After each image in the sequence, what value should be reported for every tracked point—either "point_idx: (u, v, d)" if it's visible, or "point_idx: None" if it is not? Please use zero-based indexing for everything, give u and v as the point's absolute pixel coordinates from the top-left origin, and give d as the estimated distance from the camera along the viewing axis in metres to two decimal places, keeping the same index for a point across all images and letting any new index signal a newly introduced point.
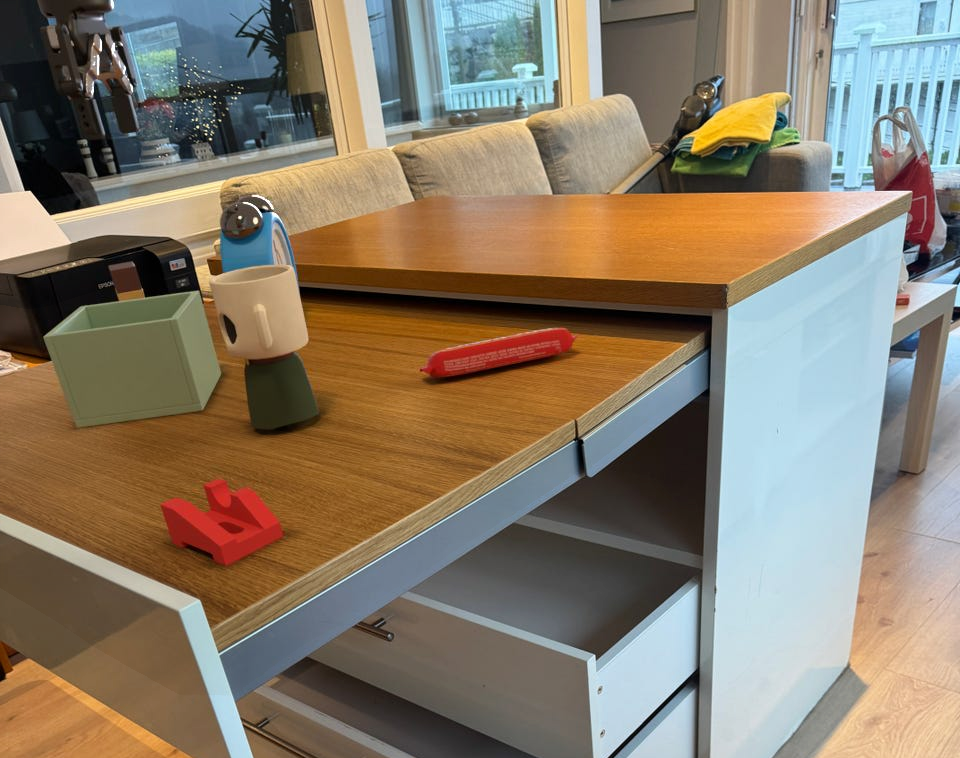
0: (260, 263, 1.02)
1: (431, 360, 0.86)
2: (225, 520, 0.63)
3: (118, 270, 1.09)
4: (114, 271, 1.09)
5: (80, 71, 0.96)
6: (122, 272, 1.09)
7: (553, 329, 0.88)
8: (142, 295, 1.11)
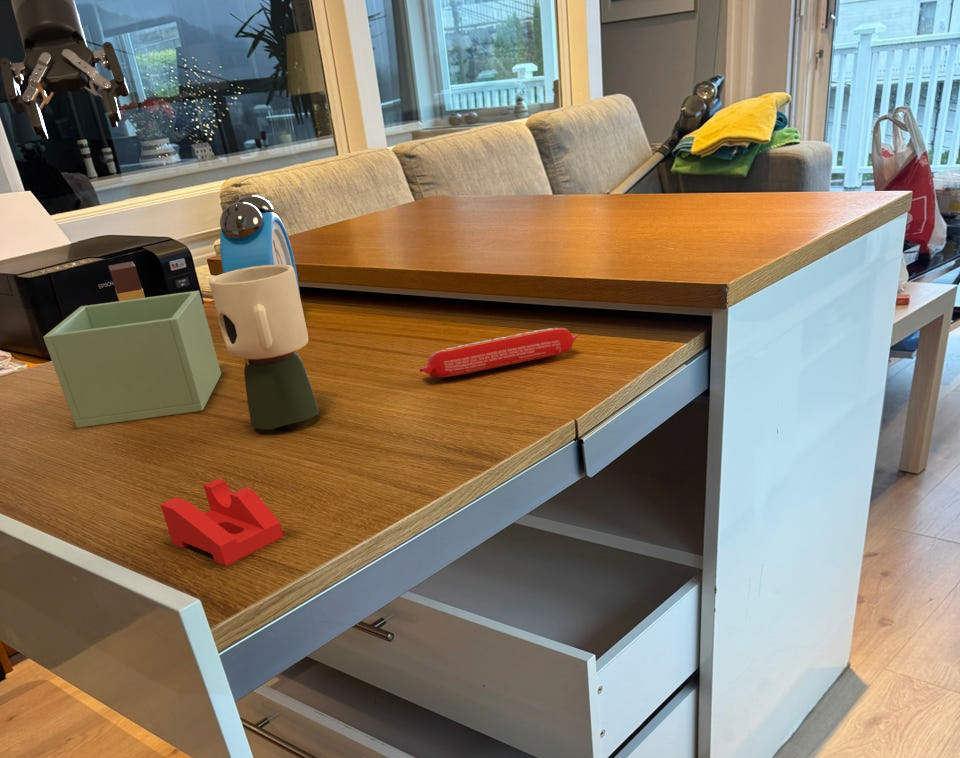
0: (260, 263, 1.02)
1: (431, 360, 0.86)
2: (225, 520, 0.63)
3: (118, 270, 1.09)
4: (114, 271, 1.09)
5: None
6: (122, 272, 1.09)
7: (553, 329, 0.88)
8: (142, 295, 1.11)
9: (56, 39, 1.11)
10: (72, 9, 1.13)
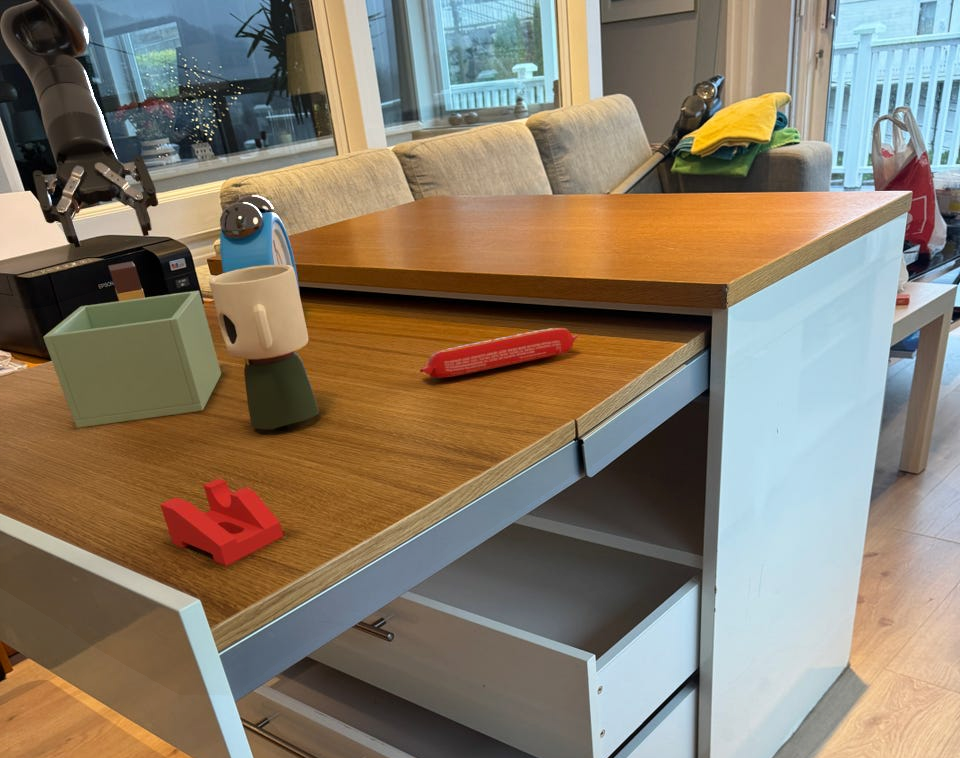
0: (260, 263, 1.02)
1: (431, 360, 0.86)
2: (225, 519, 0.63)
3: (118, 270, 1.09)
4: (114, 271, 1.09)
5: None
6: (122, 272, 1.09)
7: (553, 329, 0.88)
8: (142, 295, 1.11)
9: (88, 153, 1.15)
10: (103, 124, 1.17)
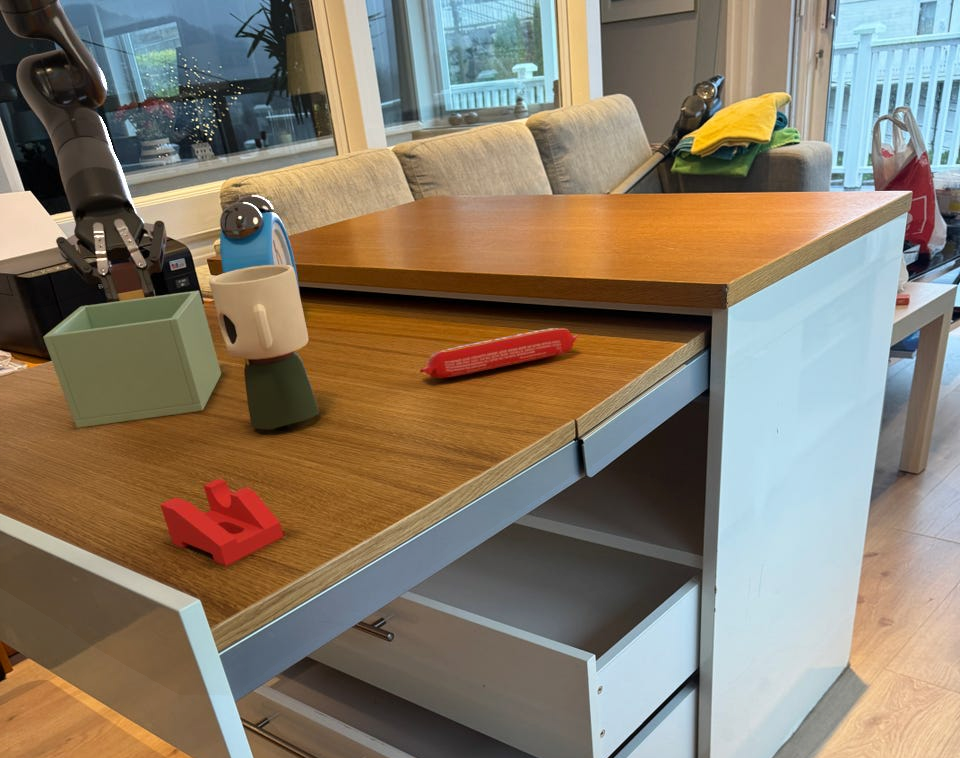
0: (260, 263, 1.02)
1: (432, 361, 0.86)
2: (225, 520, 0.63)
3: (118, 270, 1.09)
4: (114, 271, 1.09)
5: None
6: (122, 272, 1.09)
7: (554, 329, 0.88)
8: (142, 295, 1.11)
9: (107, 209, 1.12)
10: (122, 178, 1.14)
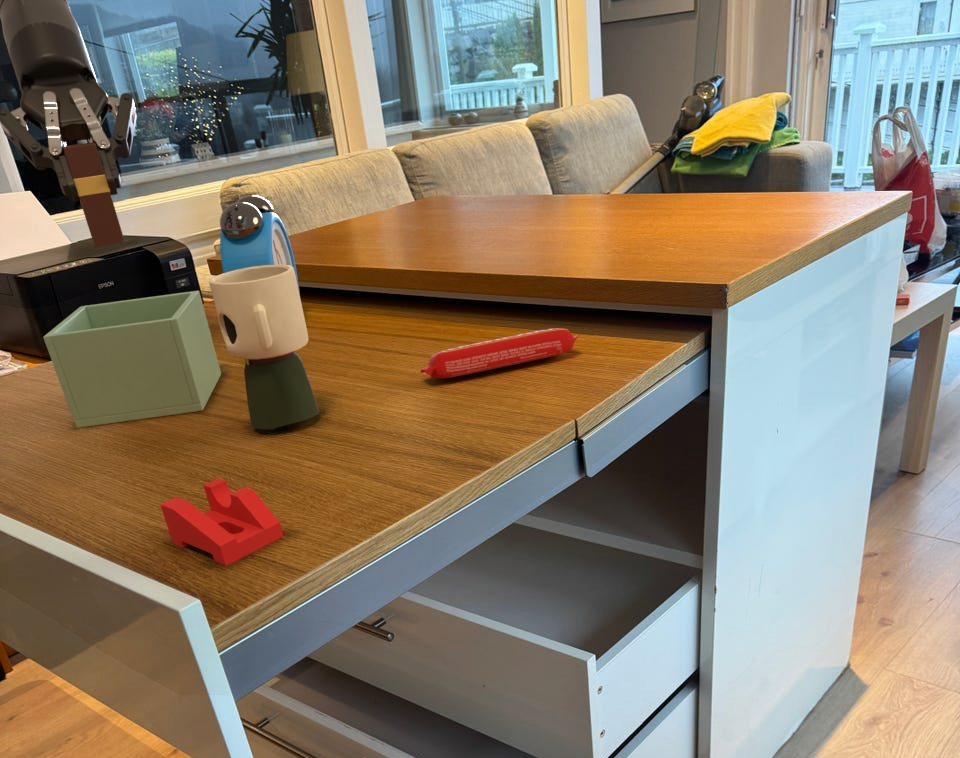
0: (260, 263, 1.02)
1: (432, 361, 0.85)
2: (225, 520, 0.63)
3: (74, 148, 0.87)
4: (69, 148, 0.87)
5: None
6: (78, 151, 0.88)
7: (554, 329, 0.87)
8: (105, 182, 0.90)
9: (62, 76, 0.91)
10: (81, 41, 0.92)
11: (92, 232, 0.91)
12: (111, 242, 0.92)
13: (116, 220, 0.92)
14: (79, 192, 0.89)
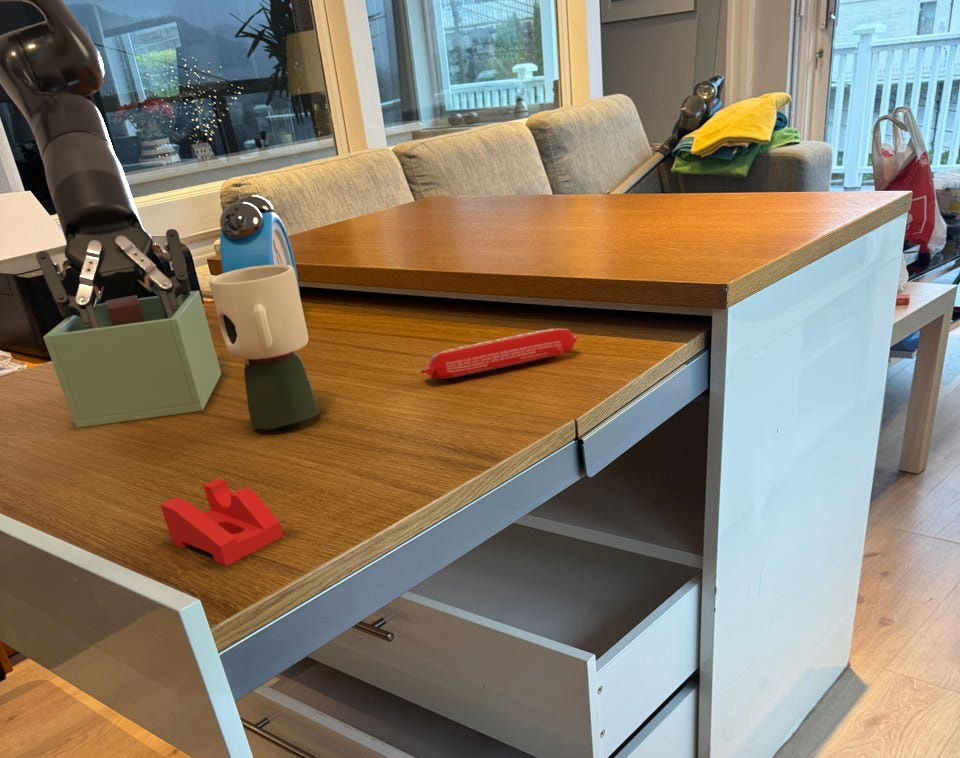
0: (260, 263, 1.02)
1: (433, 361, 0.85)
2: (225, 519, 0.63)
3: (118, 308, 0.86)
4: (113, 308, 0.85)
5: None
6: (122, 311, 0.86)
7: (554, 330, 0.87)
8: None
9: (106, 223, 0.89)
10: (125, 185, 0.90)
11: None
12: None
13: None
14: None
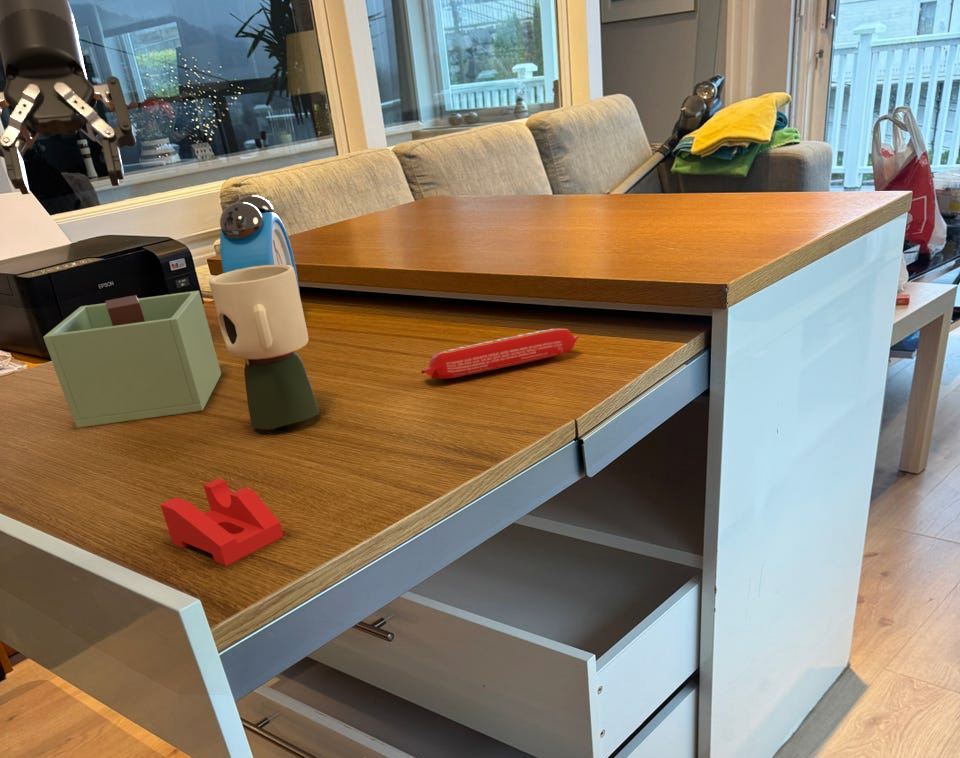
0: (260, 263, 1.02)
1: (433, 362, 0.85)
2: (225, 520, 0.63)
3: (118, 308, 0.86)
4: (113, 308, 0.85)
5: None
6: (122, 311, 0.86)
7: (555, 330, 0.87)
8: None
9: (48, 67, 0.88)
10: (71, 29, 0.89)
11: None
12: None
13: None
14: None
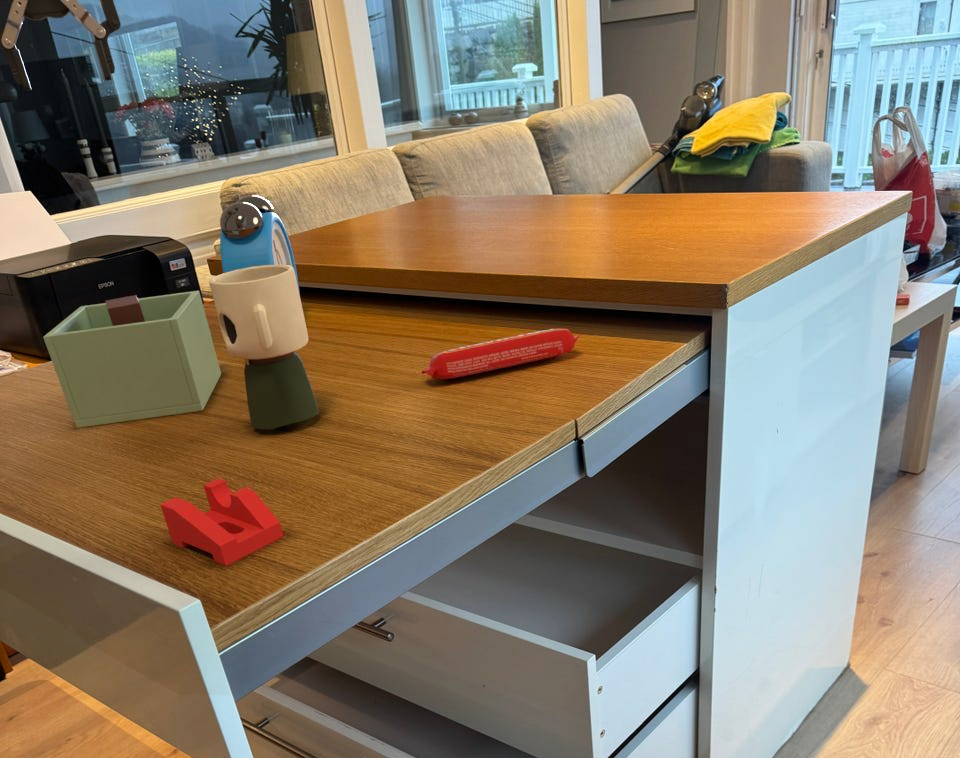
0: (260, 263, 1.02)
1: (434, 362, 0.85)
2: (225, 520, 0.63)
3: (118, 308, 0.86)
4: (113, 308, 0.85)
5: None
6: (122, 311, 0.86)
7: (555, 330, 0.87)
8: None
9: None
10: None
11: None
12: None
13: None
14: None
